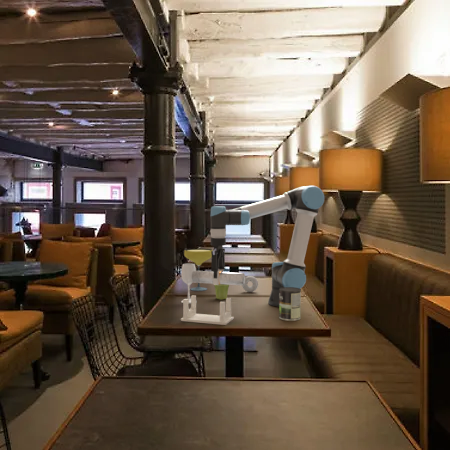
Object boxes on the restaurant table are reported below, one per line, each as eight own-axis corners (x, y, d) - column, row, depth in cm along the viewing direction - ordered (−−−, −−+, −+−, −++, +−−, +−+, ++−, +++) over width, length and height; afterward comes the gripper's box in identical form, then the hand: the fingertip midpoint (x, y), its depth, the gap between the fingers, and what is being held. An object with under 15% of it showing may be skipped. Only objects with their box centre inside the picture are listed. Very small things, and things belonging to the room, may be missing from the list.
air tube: (244, 285, 241) (245, 272, 241) (241, 286, 235) (241, 273, 235) (196, 282, 249) (196, 270, 249) (191, 283, 243) (191, 270, 243)
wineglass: (184, 304, 263) (184, 265, 262) (178, 301, 271) (178, 263, 270) (199, 302, 267) (199, 264, 266) (192, 299, 275) (192, 262, 274)
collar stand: (233, 318, 231) (233, 297, 231) (225, 324, 220) (225, 303, 219) (190, 315, 238) (190, 294, 238) (180, 320, 227) (180, 299, 226)
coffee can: (279, 320, 228) (280, 290, 227) (278, 315, 238) (278, 287, 237) (302, 321, 227) (302, 291, 226) (299, 315, 237) (299, 287, 237)
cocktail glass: (212, 292, 298) (212, 251, 296) (183, 292, 298) (182, 251, 297) (213, 286, 316) (213, 248, 314) (185, 286, 316) (185, 248, 315)
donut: (258, 291, 300) (258, 275, 299) (258, 292, 296) (258, 276, 296) (241, 291, 300) (241, 275, 299) (241, 292, 296) (241, 276, 296)
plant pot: (230, 297, 283) (230, 282, 282) (229, 300, 273) (229, 285, 273) (214, 296, 284) (214, 282, 283) (212, 300, 274) (212, 284, 274)
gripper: (217, 235, 251) (217, 280, 253) (204, 238, 233) (204, 286, 235) (231, 236, 249) (231, 280, 250) (218, 239, 231) (218, 287, 232)
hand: (218, 283), depth 242 cm, fingers closed on air tube, 6 cm apart
